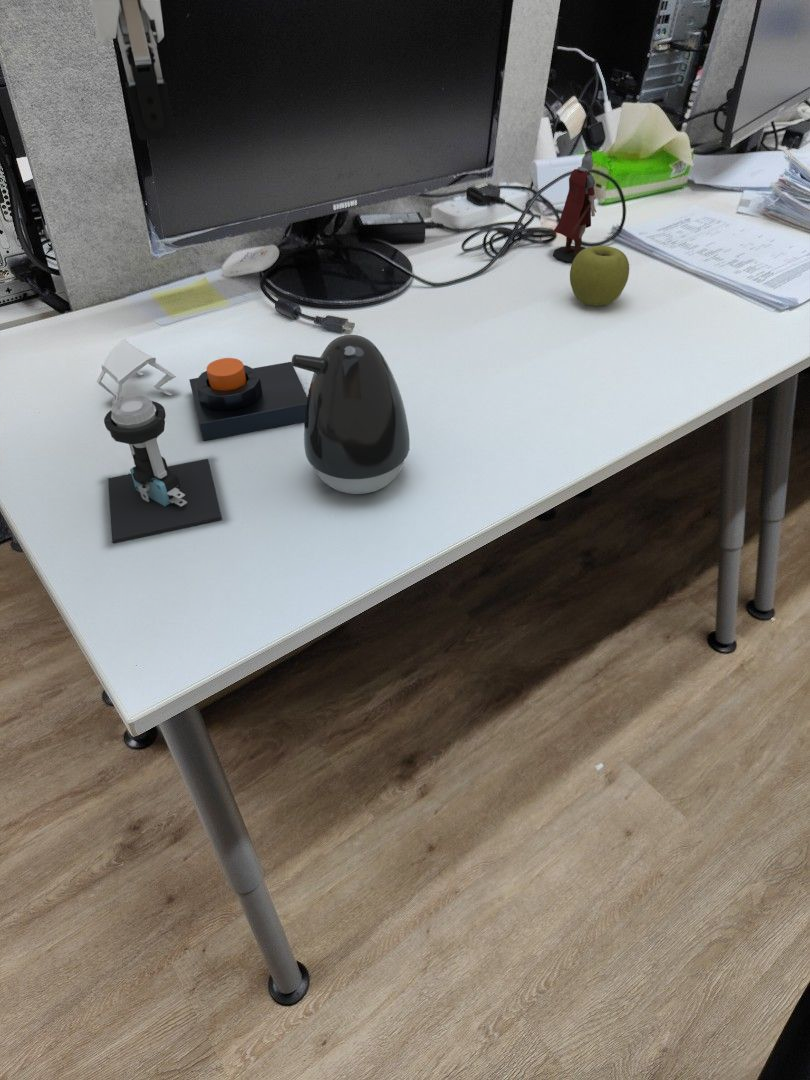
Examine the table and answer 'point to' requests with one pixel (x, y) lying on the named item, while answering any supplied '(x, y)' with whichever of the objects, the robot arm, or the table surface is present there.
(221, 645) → the table surface
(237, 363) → the orange short cylinder
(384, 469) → the pump dispenser
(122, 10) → the robot arm
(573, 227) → the figurine
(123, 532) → the pad
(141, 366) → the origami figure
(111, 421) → the push button
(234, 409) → the station
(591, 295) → the apple
